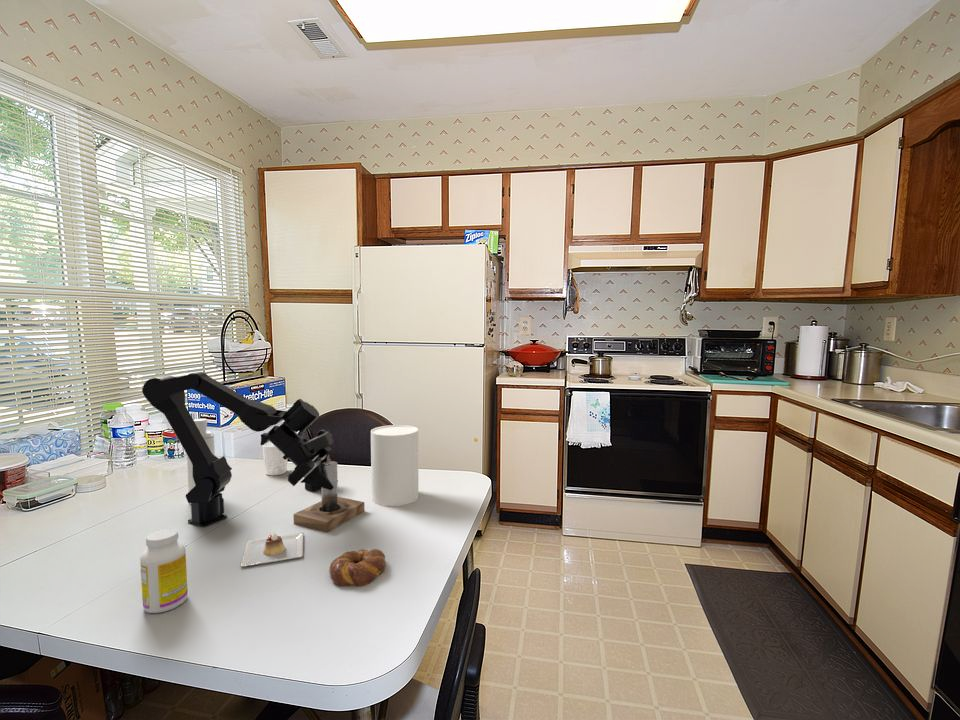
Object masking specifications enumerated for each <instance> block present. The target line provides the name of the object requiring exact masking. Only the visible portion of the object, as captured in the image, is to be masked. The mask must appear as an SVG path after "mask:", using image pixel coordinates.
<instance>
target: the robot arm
mask: <svg viewBox="0 0 960 720" xmlns="http://www.w3.org/2000/svg"><path fill="white" fill-rule="evenodd" d="M188 390H194V391H196V392H197V393H199V394H201V395H203V396H204V397H206V398H208V399H209V400H211V401H213V402H214V403H217V404H218V405H220V406H222V407H224V408H225V409H227V410H229V411H231V412H232V413H233V414H235V415H236V417H238V419H239V421H241V422H242V424H244V425H245V426H246V427H248V428H249V429H250V430H251V431H253V432H257V433H258V432H263V433H262V434H260V446H263V445H264V444H266V443H268V442H271V443H272V444H273V445H274V446H276V447H277V448H278V449H279V450H280V451H281V452H282V453H283V454H284V456H283V457H282V458H284V459H285V460H286V459H287V460H289V461H291V463H293V464H294V465H295V467H294V470H292V471H291V473H289V474H288V475H287V481H288V482H289V484H290V485H292V486H293V487H294V486H296V485H297V484H298V483H299V482H300V483H301V484H303V483H304V484H305V483H307V484H311V485H315V486H319V487H322V488H325V489H328V490H332V489H333V488H334V486H333V485H332V483H331V482H330V481H329V480H328V478H327V477H326V476H325V475H324V474H323V472H322V471H321V464H322V463H323V462H328V461H329V458H330V454H328V453H329V452H331V450H332V448H331V447H330V446H332V444H334V440H333V438H332V436H333V434H332V433H330V431H327V430H325V429H324V428H323V429H321V430H319V431H318V432H317V433H316V436H315V437H313V438H311V439H309V438H308V437H305V436H304V437H303V438H302V437H301V436H300V435H299V434H298V432H301V433H302V432H305V431H306V430H307V429H309V427H310V426H311V425H312V424H313V423H314V422H316V420H317V419H318V418H319V417H320V413H319V411H318V410H317V408H316V407H315V406H314V405H312V404H310V403H309V402H307V401H304V400H303V399H301V398H298V399H297V400H295V402H294V403H293V405H291V407H290V408H289V409H288V410H281V409H276V408H275V406H272V405H270V404H267V403H264V402H262V401H258V400H253V399H249V398H247V397H245V396H243V395H242V394H241V393H239V392H237V391H235V390H233V389H231V388H230V387H228V386H226V385H225V384H222V382H219V381H218V380H216V379H214V378H212V377H211V376H209V375H208V374H207V373H206V372H203V371H195V372H192V373H188V374H186V375H181V376H174V375H164V376H158V377H153V378H149V379H148V380H146V381H145V382H144V384H143V387H142V388H141V392H142V394H143V396H144V397H145V399H146V401H147V402H148V403H149V404H150V405H151V406H152V407H153V408H155V409H156V410H157V411H159V412H161V413H162V414H163V415H164V417H165V419H166V420H167V422H168V423H169V425H170V427H171V428H172V431H173V432H174V434H175V436H176V438H177V439H178V441H179V443H180V445H181V446H182V448H183V450H184V452H185V453H186V456H187V455H188V457H189V459H190V461H191V463H192V466H193V479H194V482H195V485H196V486H195V487H194V488H193V489H191V490H190V491H189V492H187V493H186V494H185V499H186V501H187V503H189V504H190V503H191V504H190V507H191V508H190V510H191V511H190V512H191V513H190V514H191V518H189V519H188V520H187V523H188V524H193V525H195V526H198V527H208V526H209V525H211V524H214V523H216V522H219V521H221V520H224V519H227V518H228V516H227V515H226V514H225V499H224V497H223V493H222V492H224V491H225V488H226V487H227V485H229V483H230V482H231V479H232V478H233V477H232V476H233V474H232V472H231V471H232V470H233V468H232V467H231V466H230V465H229V463H228V462H227V458H226V457H225V456H221V457H217V456H216V455H215V456H214V455H213V454H212V453H211V451H210V449H209V447H208V445H207V444H206V442H205V440H204V438H203V436H202V435H201V433H200V431H199V429H198V428H197V426H196V424H195V422H194V420H195V419H193V417H192V415H191V413H190V411H189V410H188V408H187V406H186V393H185V391H188ZM282 421H283V423H281V422H282ZM279 423H281V424H280V425H277V424H279ZM272 426H273V427H272ZM271 427H272V428H271ZM269 428H271V429H270V430H269V431H268V432H264V431H266V430H267V429H269ZM325 455H326V456H325ZM324 456H325V457H324Z"/></svg>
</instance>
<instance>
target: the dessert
mask: <svg viewBox="0 0 960 720" xmlns="http://www.w3.org/2000/svg"><path fill="white" fill-rule="evenodd" d="M269 533H270V535H268V537H264V538H263V537H262V538H259V539H258V538H255V539H252V540H251V539H250V540H247V541H246V545H245V549H244V553H243V556H242V558H241V561H240V565H239V566H240V567H242V568H243V567H245V568H246V567H250V566H251V567H252V566H258V565H264V564H265V565H266V564H271V563H275V562H276V563H277V562H281V561H288V560H293V559H294V560H295V559H299V558H303V555H304V532H298V533H291V534H284V535H278V534H277V533H275V532H273V534H272V533H271V532H269ZM271 534H272V535H271ZM294 539H296V541H297V543H296V556H292V557H284V558H280V559H279V558H278V559H273V560H268V561H261V562H257V563H256V562H254V563H249V561H250V557H251V554H252V551H253V547H254V545H258V544H259V545H261V544H264V548H263V552H262V554H263V555H264V556H268V557H269V556H270V557H272V556H277V555H280V554H282V553H284V552H285V550H286V547H285V543H284V542H283V541H287V540H294Z"/></svg>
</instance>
